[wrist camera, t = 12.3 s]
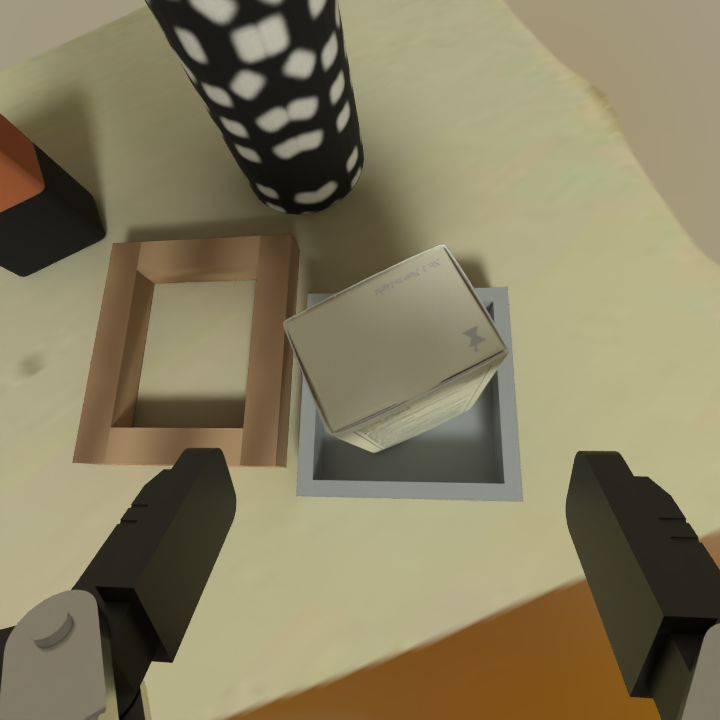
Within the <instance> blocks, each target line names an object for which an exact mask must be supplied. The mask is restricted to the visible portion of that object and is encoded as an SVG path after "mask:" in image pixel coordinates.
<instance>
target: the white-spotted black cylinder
mask: <svg viewBox="0 0 720 720" xmlns="http://www.w3.org/2000/svg"><path fill="white" fill-rule="evenodd" d="M145 2H146V3H147V5H148V7H149V9H150V10H151V12H152V14H153V16H154V17H155V19H156V21H157V23H158V24H159V26H160V28H161V30H162V31H163V33H164V35H165V37H166V39H167V40H168V42H169V44H170V46H171V47H172V49H173V51H174V53H175V54H176V56H177V58H178V60H179V61H180V63H181V65H182V67H183V68H184V70H185V72H186V74H187V75H188V77H189V79H190V81H191V82H192V84H193V86H194V88H195V90H196V91H197V93H198V95H199V97H200V98H201V100H202V102H203V104H204V105H205V107H206V109H207V111H208V112H209V114H210V116H211V118H212V119H213V121H214V123H215V125H216V126H217V128H218V130H219V132H220V133H221V135H222V137H223V139H224V141H225V142H226V144H227V146H228V148H229V149H230V151H231V153H232V155H233V156H234V158H235V160H236V162H237V163H238V165H239V167H240V169H241V170H242V172H243V174H244V176H245V177H246V179H247V181H248V183H249V184H250V186H251V188H252V190H253V192H254V193H255V194H256V196H257V197H258V198H259V199H260V200H261V201H262V202H263V203H264V204H266V205H267V206H269V207H271V208H273V209H275V210H277V211H280V212H284V213H287V214H308V213H313V212H317V211H320V210H323V209H325V208H327V207H330V206H332V205H334V204H335V203H336V202H338V201H339V200H341V199H342V198H343V197H344V196H345V195H346V194H347V193H348V192H349V191H350V190H351V189H352V188H353V186H354V185H355V183H356V182H357V181H358V178H359V176H360V174H361V171H362V167H363V162H364V154H363V145H362V140H361V134H360V128H359V122H358V116H357V110H356V105H355V99H354V93H353V87H352V81H351V75H350V70H349V64H348V58H347V52H346V46H345V40H344V35H343V29H342V23H341V17H340V11H339V5H338V0H145Z"/></svg>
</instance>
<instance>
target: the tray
mask: <svg viewBox="0 0 720 720" xmlns="http://www.w3.org/2000/svg"><path fill="white" fill-rule="evenodd" d="M474 289H475V291H476V293H477V294H478V296H479V298H480V299H481V301H482V303H483V304H484V306H485V307H486V309H487V311H488V313H489V314H490V316H491V318H492V320H493V322H494V323H495V325H496V327H497V328H498V330H499V332H500V334H501V336H502V338H503V340H504V341H505V343H506V344H507V346H508V348H509V353H508V354H507V356H506V357H505V359H504V360H503V362H502V363H501V365H500V366H499V367H498V369H497V370H496V372H495V373H494V375H493V376H492V378H491V379H490V381H489V382H488V384H487V385H486V387H485V388H484V390H483V391H482V393H481V394H480V396H479V397H478V398H477V400H476V402H475V403H474V404H473V406H472V407H471V409H470V410H468V411H466V412H464V413H462V414H460V415H458V416H456V417H454V418H452V419H450V420H448V421H446V422H444V423H442V424H440V425H438V426H436V427H434V428H432V429H430V430H427V431H425V432H423V433H421V434H419V435H417V436H415V437H412V438H410V439H408V440H406V441H404V442H402V443H399V444H397V445H395V446H393V447H390V448H388V449H386V450H383V451H381V452H379V453H372V452H370V451H367V450H365V449H363V448H360V447H357V446H355V445H352V444H350V443H348V442H346V441H343V440H341V439H338V438H336V437H333V436H331V435H329V434H328V433H327V431H326V429H325V427H324V425H323V422H322V420H321V418H320V416H319V413H318V411H317V409H316V406H315V404H314V402H313V399H312V397H311V394H310V392H309V390H308V387H307V385H306V382H305V380H304V377H303V382H302V400H301V418H300V436H299V454H298V472H297V490H296V496H313V497H353V498H393V499H433V500H473V501H513V502H523V492H522V479H521V465H520V451H519V437H518V423H517V409H516V396H515V382H514V368H513V354H512V340H511V326H510V312H509V299H508V287H492V288H474ZM334 294H337V293H317V294H307V308H309V307H311V306H313V305H315V304H317V303H319V302H321V301H323V300H325V299H326V298H328V297H330V296H332V295H334Z"/></svg>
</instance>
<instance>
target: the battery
mask: <svg viewBox="0 0 720 720" xmlns="http://www.w3.org/2000/svg"><path fill="white" fill-rule="evenodd" d="M104 236H105V234H104V230H103V227H102V224H101V221H100V218H99V215H98V212H97V209H96V206H95V202H94V199H93V197H92V195H91V194H90V193H89V192H88V191H87V190H86V189H85V188H84V187H83V186H81V185H80V184H79V183H78V182H77V181H76V180H75V179H74V178H72V177H71V176H70V175H69V174H68V173H67V172H66V171H65V170H63V169H62V168H61V167H60V166H59V165H58V164H57V163H55V162H54V161H53V160H52V159H51V158H50V157H49V156H48V155H46V154H45V153H44V152H43V151H42V150H41V149H40V148H39V147H37V146H36V145H35V144H34V143H33V142H32V141H31V140H30V139H28V138H27V137H26V136H25V135H24V134H23V133H22V132H21V131H19V130H18V129H17V128H16V127H15V126H14V125H13V124H11V123H10V122H9V121H8V120H7V119H6V118H5V117H4V116H2V115H1V114H0V266H1V267H3V268H5V269H7V270H9V271H11V272H13V273H15V274H17V275H19V276H22V277H25V276H28V275H30V274H32V273H35V272H37V271H39V270H41V269H43V268H45V267H47V266H49V265H51V264H53V263H55V262H57V261H59V260H61V259H63V258H65V257H68V256H70V255H72V254H74V253H76V252H78V251H80V250H82V249H84V248H86V247H88V246H90V245H92V244H94V243H96V242H98V241H100V240H102V239H103V238H104Z"/></svg>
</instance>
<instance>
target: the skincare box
mask: <svg viewBox="0 0 720 720" xmlns="http://www.w3.org/2000/svg"><path fill="white" fill-rule="evenodd" d="M283 327H284V329H285V332H286V334H287V337H288V339H289V342H290V344H291V347H292V350H293V352H294V354H295V357H296V360H297V362H298V365H299V367H300V370H301V372H302V375H303V377H304V380H305V382H306V385H307V387H308V390H309V392H310V394H311V397H312V399H313V402H314V404H315V406H316V409H317V411H318V413H319V416H320V418H321V420H322V422H323V425H324V427H325V429H326V431H327V433H328V434H329V435H331V436H333V437H336V438H338V439H341V440H343V441H346V442H348V443H350V444H352V445H355V446H357V447H360V448H363V449H365V450H367V451H370V452H372V453H379V452H381V451H383V450H386V449H388V448H390V447H393V446H395V445H397V444H399V443H402V442H404V441H406V440H408V439H410V438H412V437H415V436H417V435H419V434H421V433H423V432H425V431H427V430H430V429H432V428H434V427H436V426H438V425H440V424H442V423H444V422H446V421H448V420H450V419H452V418H454V417H456V416H458V415H460V414H462V413H464V412H466V411H468V410H470V409H471V407H472V406H473V404H474V403H475V402H476V400H477V398H478V397H479V396H480V394H481V393H482V391H483V390H484V388H485V387H486V385H487V384H488V382H489V381H490V379H491V378H492V376H493V375H494V373H495V372H496V370H497V369H498V367H499V366H500V365H501V363H502V362H503V360H504V359H505V357H506V356H507V354H508V353H509V348H508V346H507V344H506V343H505V341H504V340H503V338H502V336H501V334H500V332H499V330H498V328H497V327H496V325H495V323H494V322H493V320H492V318H491V316H490V314H489V313H488V311H487V309H486V307H485V306H484V304H483V303H482V301H481V299H480V298H479V296H478V294H477V293H476V291H475V289H474V288H473V286H472V284H471V282H470V280H469V279H468V278H467V276H466V274H465V273H464V271H463V270H462V268H461V267H460V265H459V264H458V262H457V261H456V259H455V257H454V256H453V254H452V253H451V251H450V250H449V248H448V247H447V246H446V245H444V244H440V245H437V246H435V247H433V248H430V249H428V250H426V251H423V252H422V253H419V254H417V255H414V256H412V257H410V258H408V259H406V260H404V261H402V262H400V263H397V264H395V265H393V266H391V267H389V268H387V269H385V270H383V271H381V272H379V273H377V274H374V275H372V276H370V277H368V278H366V279H364V280H363V281H361V282H359V283H357V284H355V285H352V286H350V287H348V288H346V289H344V290H342V291H340V292H338V293H337V294H334V295H332V296H330V297H328V298H326V299H325V300H323V301H321V302H319V303H317V304H315V305H313V306H311V307H309V308H307V309H305V310H303V311H301V312H299V313H297V314H296V315H294V316H292V317H290V318H288V319H286V320H285V321H284V322H283Z"/></svg>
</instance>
